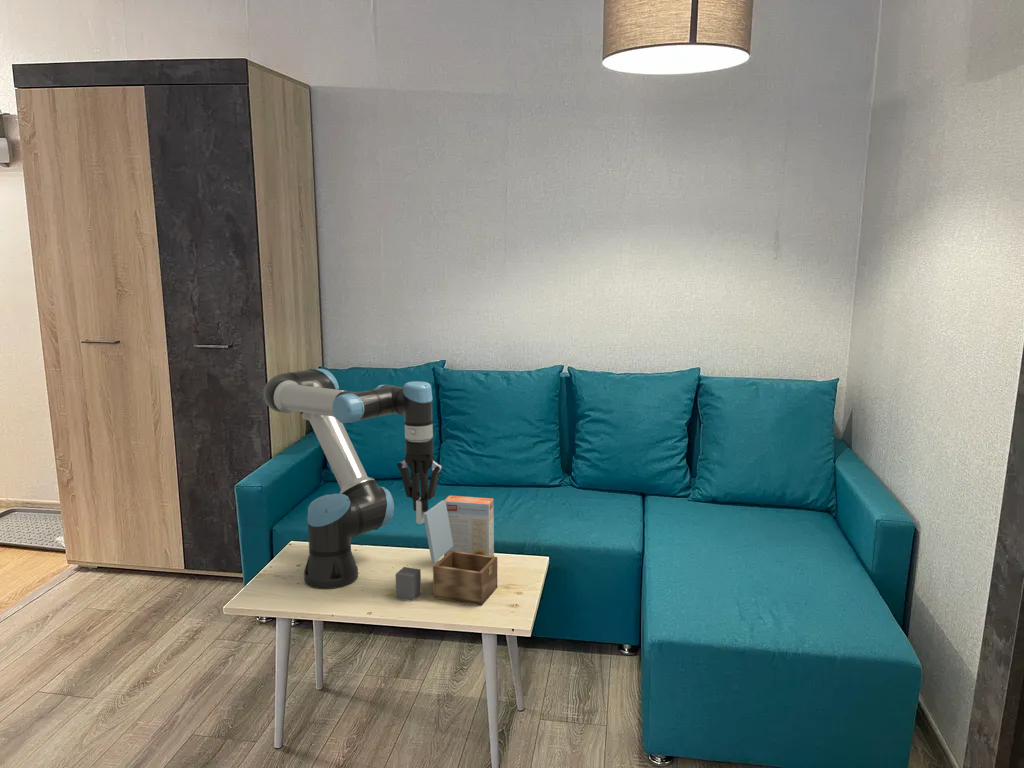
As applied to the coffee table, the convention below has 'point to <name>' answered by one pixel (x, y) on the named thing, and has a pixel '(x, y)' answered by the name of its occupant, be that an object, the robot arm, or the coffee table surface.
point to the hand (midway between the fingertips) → (421, 522)
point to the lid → (438, 530)
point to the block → (408, 583)
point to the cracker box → (471, 524)
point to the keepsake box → (465, 577)
